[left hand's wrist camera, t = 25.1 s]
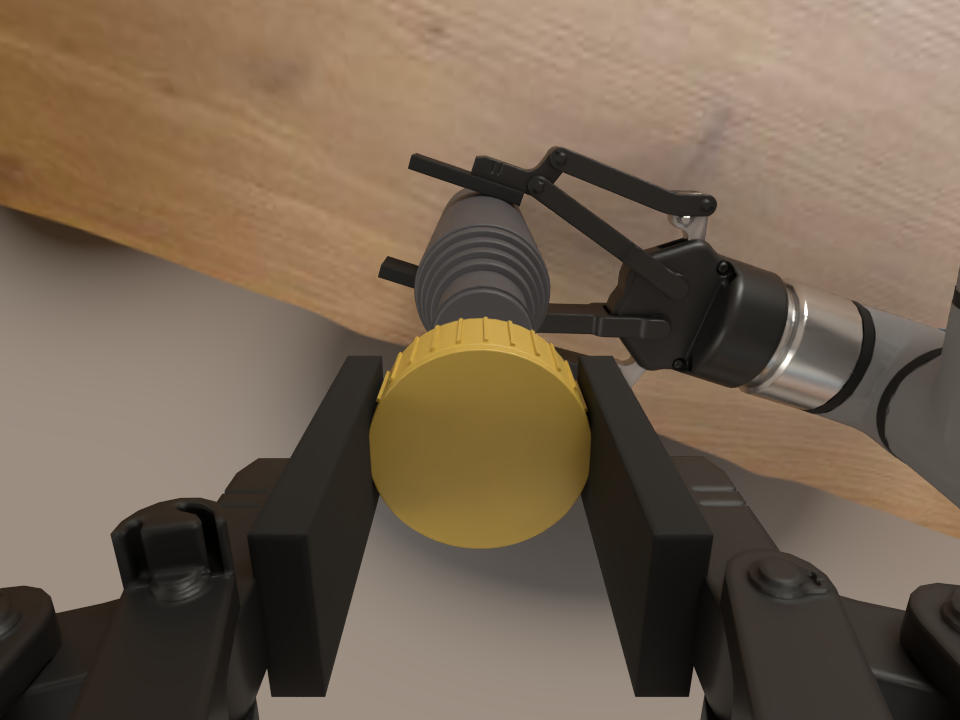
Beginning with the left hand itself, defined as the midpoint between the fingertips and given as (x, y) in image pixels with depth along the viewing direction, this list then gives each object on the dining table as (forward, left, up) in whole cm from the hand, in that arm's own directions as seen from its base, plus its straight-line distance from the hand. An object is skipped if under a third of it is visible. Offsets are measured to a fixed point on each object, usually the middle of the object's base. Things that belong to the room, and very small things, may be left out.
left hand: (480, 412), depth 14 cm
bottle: (0, 0, -31) cm, 31 cm away
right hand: (-5, -1, -25) cm, 25 cm away
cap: (0, 0, +2) cm, 2 cm away
